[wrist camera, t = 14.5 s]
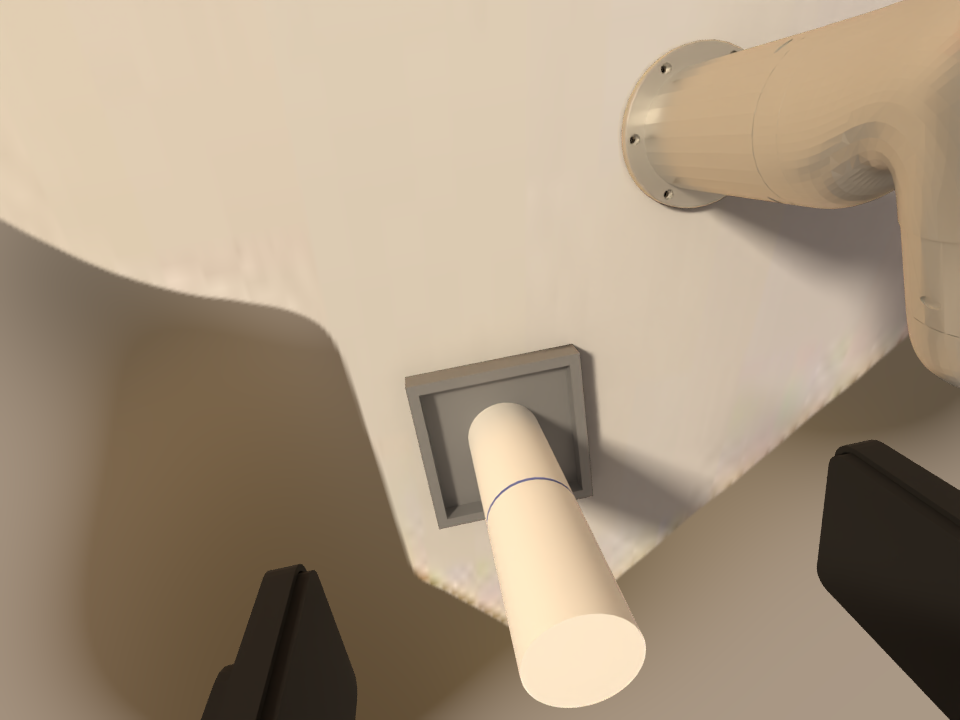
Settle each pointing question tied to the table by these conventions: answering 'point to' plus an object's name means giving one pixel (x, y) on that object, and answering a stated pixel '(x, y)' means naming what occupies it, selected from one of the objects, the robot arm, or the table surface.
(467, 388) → the desk tray
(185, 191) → the table surface
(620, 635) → the cylindrical container
